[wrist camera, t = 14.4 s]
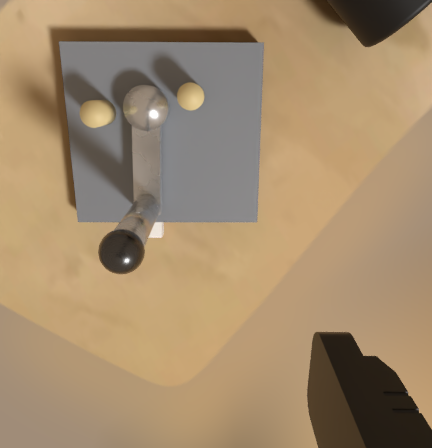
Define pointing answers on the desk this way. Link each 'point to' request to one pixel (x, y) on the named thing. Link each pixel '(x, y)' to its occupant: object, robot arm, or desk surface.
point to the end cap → (377, 17)
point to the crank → (139, 180)
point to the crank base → (166, 127)
